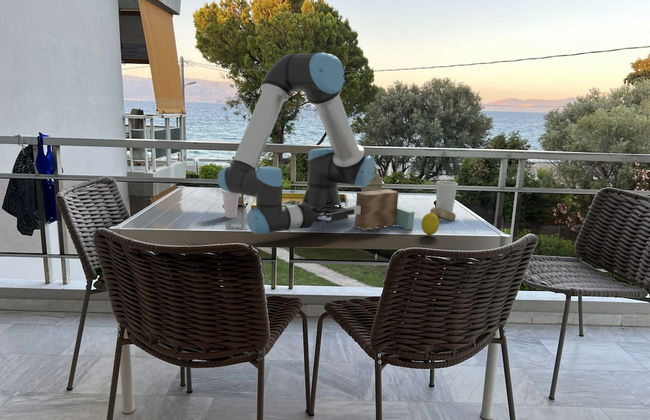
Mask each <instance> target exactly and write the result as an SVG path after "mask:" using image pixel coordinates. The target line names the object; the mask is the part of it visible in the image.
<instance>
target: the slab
mask: <svg viewBox="0 0 650 420" xmlns="http://www.w3.org/2000/svg"><path fill="white" fill-rule="evenodd" d="M355 201H356V202H355V206H356V205H359V206H361V214H358V215H354V216H355V219H354V227H355V226H356V227H355V228H357V227H360V228H363V229H366V228H375V227H384V226H391V227H394V226H393V225H396V217H397V206H399V205H398V204H399V203H398V202H399V191H397V190H392V189H380V190H369V191H368V190H367V191H359V192H358V191H357V192H356V200H355ZM384 228H385V227H384Z"/></svg>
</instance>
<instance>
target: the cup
mask: <svg viewBox="0 0 650 420" xmlns="http://www.w3.org/2000/svg"><path fill="white" fill-rule="evenodd" d="M435 183H436V186H435V187H436V193H435V197H436V199H435V207H436V208H439V209H442V210H445V211H449V212H452V213H454V212H453V211H454V210H453V209H454V205H455V200H456V195H457V190H458V183H457V182H454V181H448V180H438V181H436V182H435Z"/></svg>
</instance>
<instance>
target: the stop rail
mask: <svg viewBox="0 0 650 420" xmlns="http://www.w3.org/2000/svg"><path fill="white" fill-rule="evenodd" d="M414 223H415V211H413V210H411V209H407V208H403V207H401V206H399V205H397V217H396V225H398V226H397V227H399V226H401V227H404V228H407V229H410V230H413V229H414ZM401 227H400V228H401ZM404 228H403V229H404ZM412 228H413V229H412ZM407 229H406V230H407Z"/></svg>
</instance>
